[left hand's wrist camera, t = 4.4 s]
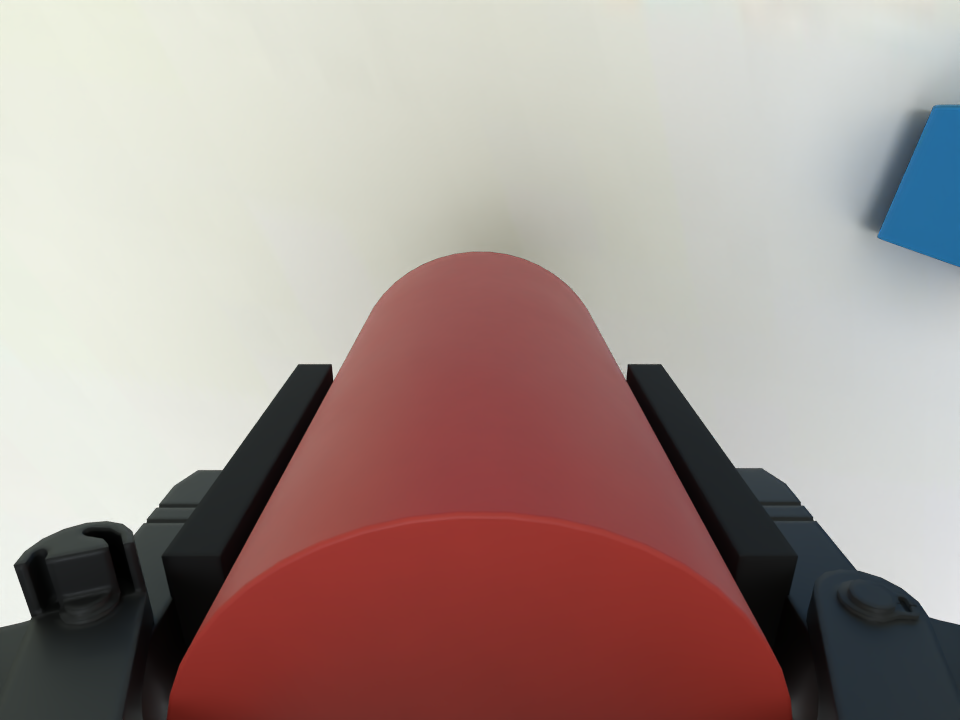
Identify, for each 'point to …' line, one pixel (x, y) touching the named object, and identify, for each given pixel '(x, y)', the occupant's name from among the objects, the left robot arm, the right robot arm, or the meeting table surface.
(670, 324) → the meeting table surface
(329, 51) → the meeting table surface
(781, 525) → the left robot arm
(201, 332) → the meeting table surface
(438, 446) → the canister
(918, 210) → the logo
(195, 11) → the meeting table surface
